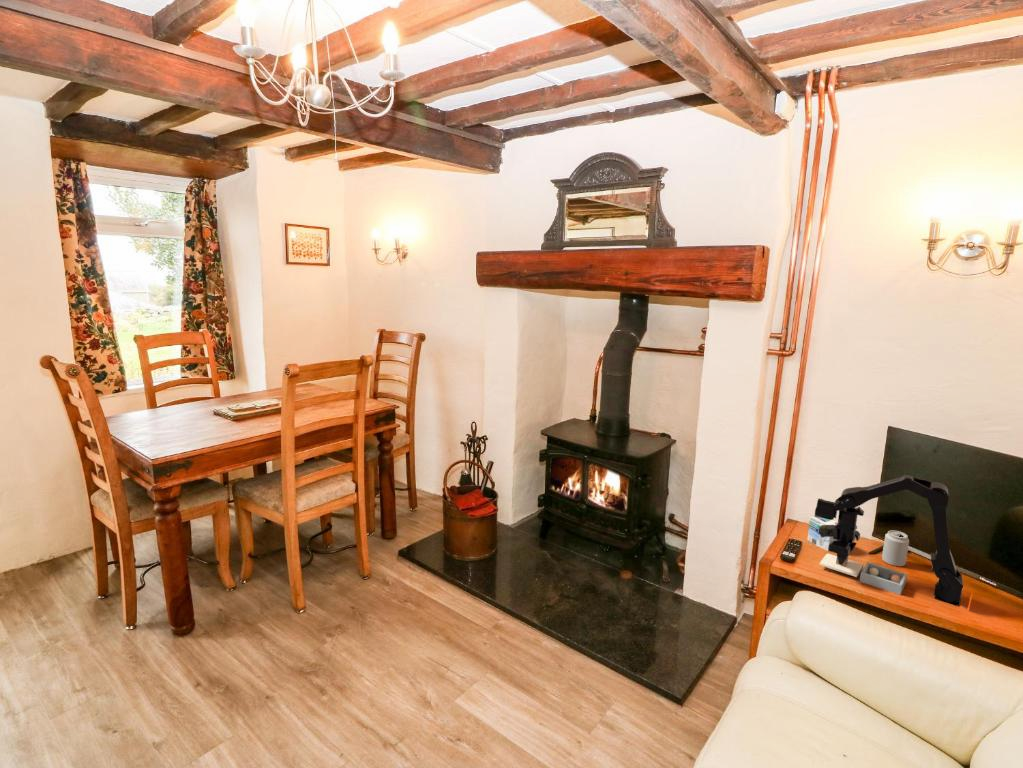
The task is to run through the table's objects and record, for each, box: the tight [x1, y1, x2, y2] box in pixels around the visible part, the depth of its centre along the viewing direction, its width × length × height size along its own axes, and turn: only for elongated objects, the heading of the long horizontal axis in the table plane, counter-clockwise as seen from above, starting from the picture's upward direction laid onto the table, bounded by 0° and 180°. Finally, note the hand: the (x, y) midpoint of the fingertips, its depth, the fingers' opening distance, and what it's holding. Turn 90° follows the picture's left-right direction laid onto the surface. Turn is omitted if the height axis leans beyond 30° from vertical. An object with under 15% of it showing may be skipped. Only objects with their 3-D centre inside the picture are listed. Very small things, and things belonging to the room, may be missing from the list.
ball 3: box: [891, 575, 901, 583], centre depth 194 cm, size 3×3×3 cm
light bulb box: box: [807, 515, 838, 552], centre depth 221 cm, size 11×7×11 cm, turn 17°
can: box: [881, 529, 910, 567], centre depth 207 cm, size 8×8×12 cm
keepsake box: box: [859, 561, 908, 596], centre depth 194 cm, size 12×10×4 cm
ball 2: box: [880, 571, 890, 580], centre depth 196 cm, size 3×3×3 cm
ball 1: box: [869, 568, 879, 576], centre depth 198 cm, size 3×3×3 cm
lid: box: [819, 553, 865, 578], centre depth 202 cm, size 12×10×5 cm
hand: (841, 562), depth 202 cm, fingers closed on lid, 3 cm apart
